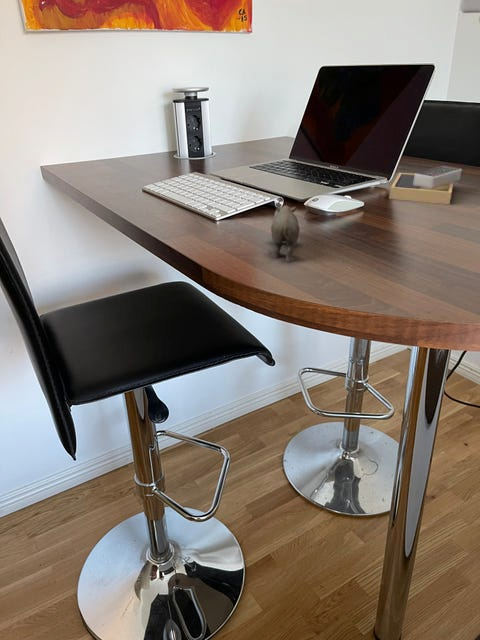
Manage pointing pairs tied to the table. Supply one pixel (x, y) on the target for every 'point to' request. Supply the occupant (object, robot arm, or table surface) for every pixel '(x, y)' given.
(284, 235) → the rhino figurine
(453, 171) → the multiport hub
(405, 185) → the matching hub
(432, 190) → the tray
